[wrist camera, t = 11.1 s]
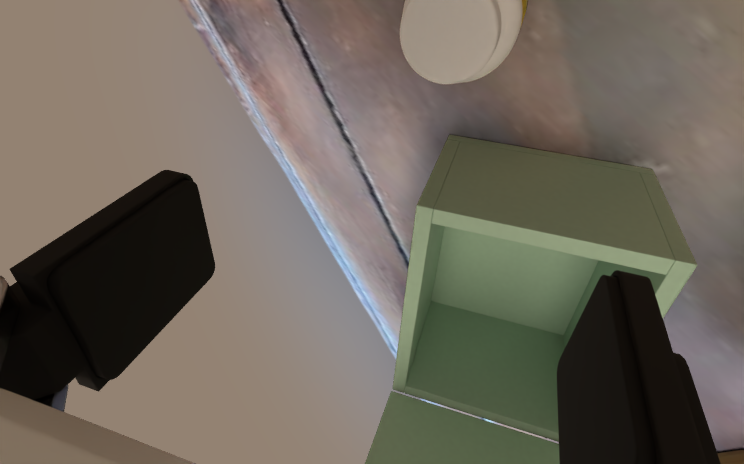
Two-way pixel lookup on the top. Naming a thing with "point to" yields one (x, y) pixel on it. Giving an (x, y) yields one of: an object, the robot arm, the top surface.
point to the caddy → (732, 457)
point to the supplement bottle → (459, 36)
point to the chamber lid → (450, 438)
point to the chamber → (522, 272)
